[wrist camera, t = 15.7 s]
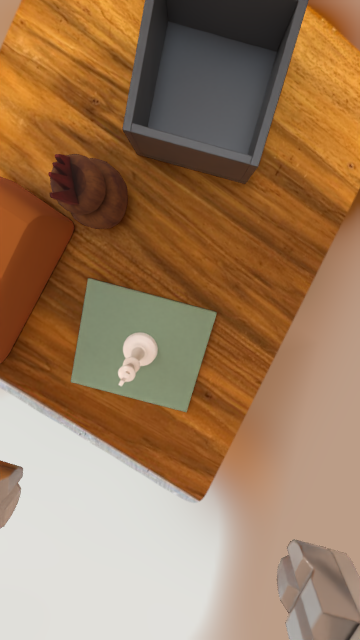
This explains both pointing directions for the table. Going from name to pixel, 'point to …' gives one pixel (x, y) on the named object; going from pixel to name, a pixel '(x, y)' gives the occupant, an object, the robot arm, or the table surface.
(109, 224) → the wooden figurine
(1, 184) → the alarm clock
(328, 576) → the robot arm
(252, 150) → the tub
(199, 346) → the mat
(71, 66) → the table surface
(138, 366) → the chess piece
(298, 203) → the table surface
